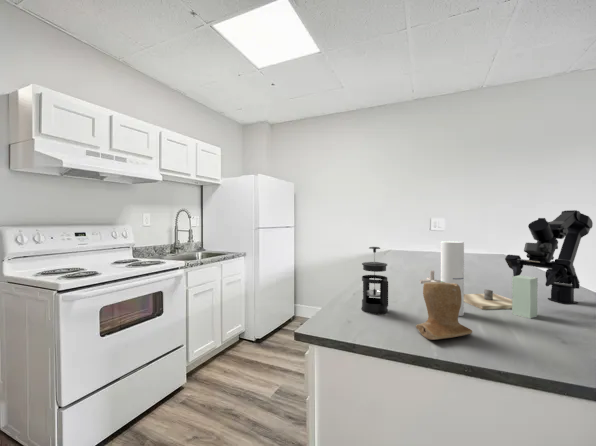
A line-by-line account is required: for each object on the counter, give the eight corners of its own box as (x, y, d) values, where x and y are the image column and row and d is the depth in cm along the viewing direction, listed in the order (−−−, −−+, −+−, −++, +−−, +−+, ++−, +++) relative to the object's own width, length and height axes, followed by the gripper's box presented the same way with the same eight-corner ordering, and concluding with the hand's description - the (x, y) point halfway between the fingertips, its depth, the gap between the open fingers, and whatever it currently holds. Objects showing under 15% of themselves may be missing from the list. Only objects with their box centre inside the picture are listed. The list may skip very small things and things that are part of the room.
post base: (493, 296, 120) (493, 285, 120) (527, 307, 104) (527, 295, 104) (453, 297, 119) (454, 286, 119) (482, 309, 103) (482, 296, 103)
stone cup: (444, 323, 89) (444, 276, 89) (479, 338, 78) (479, 284, 78) (404, 329, 85) (404, 279, 84) (435, 346, 73) (435, 288, 73)
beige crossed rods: (439, 290, 131) (439, 268, 131) (448, 296, 121) (448, 272, 121) (416, 289, 132) (416, 268, 132) (424, 295, 122) (424, 272, 122)
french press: (355, 307, 106) (355, 246, 106) (375, 304, 109) (375, 245, 109) (375, 317, 95) (374, 249, 95) (397, 313, 99) (397, 248, 98)
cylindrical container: (467, 316, 95) (467, 242, 95) (444, 315, 97) (444, 242, 97) (459, 309, 102) (459, 241, 102) (438, 308, 104) (438, 240, 104)
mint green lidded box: (519, 311, 100) (519, 275, 100) (537, 315, 96) (537, 277, 96) (512, 314, 98) (512, 276, 98) (530, 318, 93) (530, 279, 93)
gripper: (507, 233, 109) (492, 264, 104) (572, 235, 93) (557, 272, 87) (517, 252, 113) (502, 283, 108) (580, 258, 97) (567, 294, 91)
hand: (529, 282), depth 98 cm, fingers open, 9 cm apart
